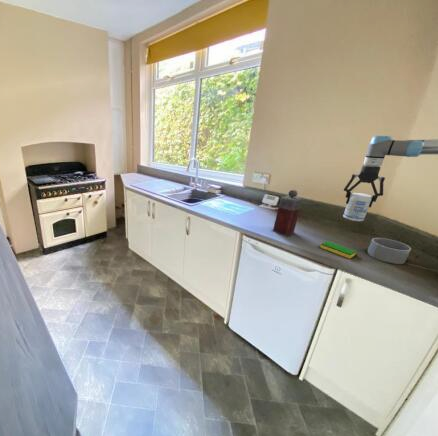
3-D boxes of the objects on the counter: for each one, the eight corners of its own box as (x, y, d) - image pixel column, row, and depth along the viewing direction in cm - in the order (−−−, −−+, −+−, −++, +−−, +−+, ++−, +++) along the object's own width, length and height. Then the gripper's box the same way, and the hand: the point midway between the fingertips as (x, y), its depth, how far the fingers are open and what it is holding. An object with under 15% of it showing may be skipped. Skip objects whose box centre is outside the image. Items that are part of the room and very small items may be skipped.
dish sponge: (325, 244, 135) (327, 240, 135) (355, 255, 125) (356, 251, 124) (319, 247, 132) (321, 243, 131) (349, 258, 121) (351, 254, 120)
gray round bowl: (402, 255, 125) (408, 243, 122) (407, 267, 114) (413, 253, 111) (366, 247, 133) (371, 235, 131) (367, 257, 123) (372, 244, 120)
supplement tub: (351, 221, 134) (360, 197, 129) (338, 216, 143) (346, 192, 138) (368, 221, 134) (377, 197, 129) (354, 216, 143) (362, 192, 138)
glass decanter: (295, 232, 152) (307, 190, 141) (286, 236, 146) (297, 192, 135) (281, 227, 158) (291, 187, 148) (272, 231, 153) (282, 189, 142)
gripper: (345, 164, 131) (333, 202, 139) (401, 168, 118) (384, 210, 126) (346, 163, 137) (334, 199, 145) (399, 167, 124) (383, 207, 132)
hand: (357, 205), depth 136 cm, fingers closed on supplement tub, 9 cm apart
